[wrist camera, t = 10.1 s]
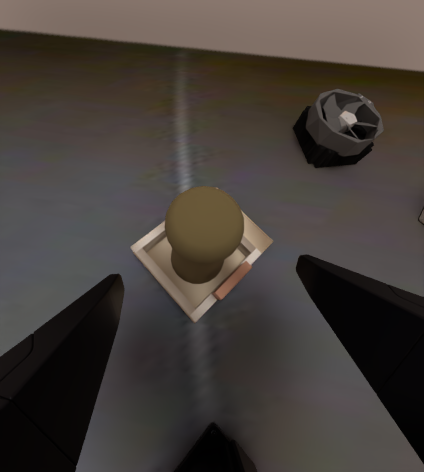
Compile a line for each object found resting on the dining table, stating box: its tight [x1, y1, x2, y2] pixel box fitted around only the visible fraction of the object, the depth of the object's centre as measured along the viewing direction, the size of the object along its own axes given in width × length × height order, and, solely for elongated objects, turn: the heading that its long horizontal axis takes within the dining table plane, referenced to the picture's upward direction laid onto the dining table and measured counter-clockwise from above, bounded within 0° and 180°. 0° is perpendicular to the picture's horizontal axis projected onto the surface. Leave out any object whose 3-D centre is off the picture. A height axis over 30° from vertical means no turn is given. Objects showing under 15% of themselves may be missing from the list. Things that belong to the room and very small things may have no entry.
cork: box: [164, 186, 244, 284], centre depth 16 cm, size 6×6×11 cm
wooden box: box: [130, 187, 273, 323], centre depth 20 cm, size 13×10×6 cm
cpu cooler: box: [293, 89, 384, 168], centre depth 29 cm, size 10×6×10 cm
